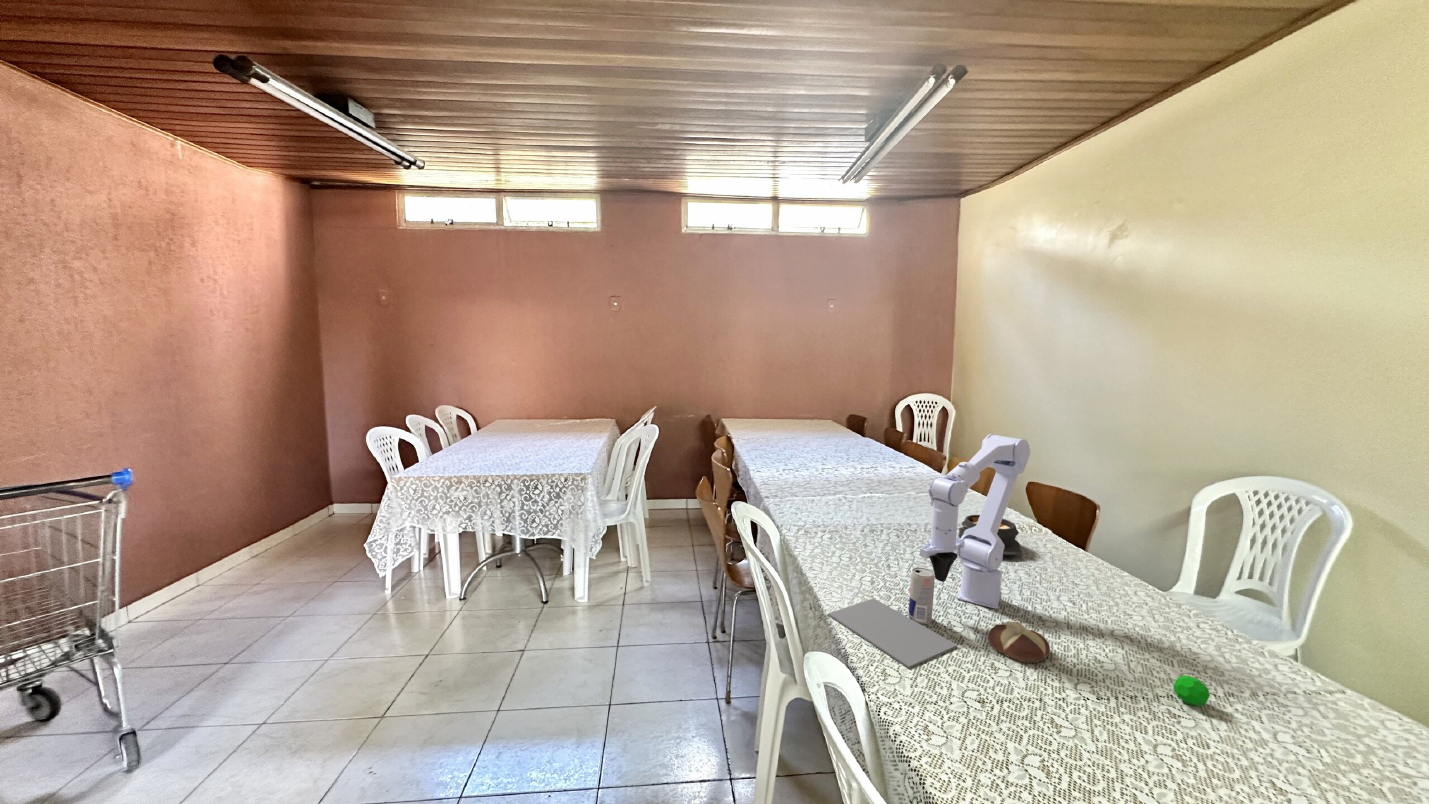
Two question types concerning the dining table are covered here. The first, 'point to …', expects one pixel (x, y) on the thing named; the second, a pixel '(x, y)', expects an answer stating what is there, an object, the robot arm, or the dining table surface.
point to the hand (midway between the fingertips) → (940, 579)
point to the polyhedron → (1191, 690)
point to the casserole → (1005, 533)
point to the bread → (1018, 642)
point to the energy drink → (921, 595)
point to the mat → (892, 632)
